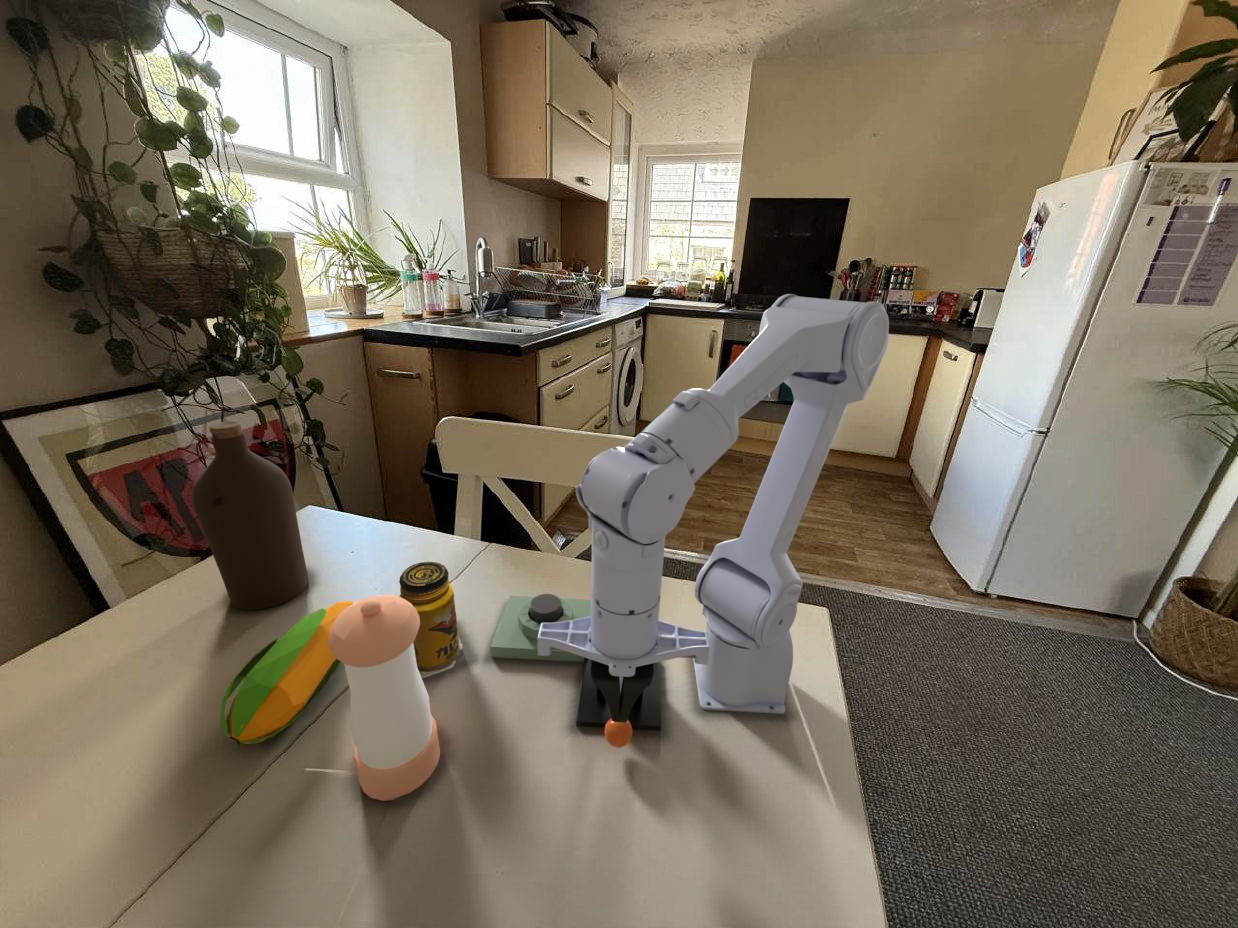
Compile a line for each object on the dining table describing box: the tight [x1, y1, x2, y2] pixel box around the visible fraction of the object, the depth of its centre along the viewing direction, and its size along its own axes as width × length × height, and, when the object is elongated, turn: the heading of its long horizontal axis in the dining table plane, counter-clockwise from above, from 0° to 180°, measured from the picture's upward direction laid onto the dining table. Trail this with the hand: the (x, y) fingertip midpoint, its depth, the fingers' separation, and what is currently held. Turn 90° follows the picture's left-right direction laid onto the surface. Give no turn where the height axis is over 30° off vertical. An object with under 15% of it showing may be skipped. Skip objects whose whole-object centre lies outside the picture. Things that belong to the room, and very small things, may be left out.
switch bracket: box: [575, 658, 662, 732], centre depth 56 cm, size 10×9×8 cm
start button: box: [530, 593, 562, 624], centre depth 64 cm, size 4×4×2 cm
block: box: [489, 595, 591, 663], centre depth 65 cm, size 12×10×4 cm
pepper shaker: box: [328, 594, 441, 802], centre depth 44 cm, size 7×7×19 cm
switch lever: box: [603, 676, 633, 749], centre depth 52 cm, size 11×3×3 cm, turn 179°
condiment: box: [398, 561, 464, 680], centre depth 59 cm, size 7×8×12 cm
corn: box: [219, 600, 354, 745], centre depth 55 cm, size 7×8×20 cm
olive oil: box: [191, 421, 309, 611], centre depth 67 cm, size 11×11×25 cm
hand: (619, 712), depth 46 cm, fingers closed
